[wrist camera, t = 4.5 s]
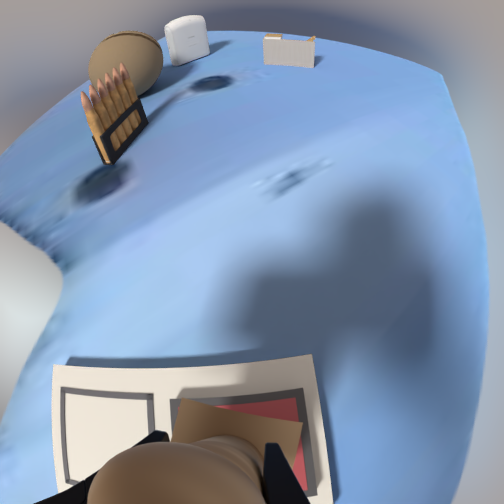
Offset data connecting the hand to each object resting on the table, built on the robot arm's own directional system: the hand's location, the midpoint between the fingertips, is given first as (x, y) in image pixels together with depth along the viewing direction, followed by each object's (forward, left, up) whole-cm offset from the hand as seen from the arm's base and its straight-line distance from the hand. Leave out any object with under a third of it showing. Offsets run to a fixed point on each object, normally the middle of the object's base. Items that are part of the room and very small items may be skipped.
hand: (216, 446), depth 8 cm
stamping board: (-5, +4, -12) cm, 14 cm away
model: (+59, +27, -13) cm, 66 cm away
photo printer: (+54, +51, -13) cm, 75 cm away
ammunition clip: (+21, +35, -13) cm, 42 cm away
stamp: (-1, -1, -6) cm, 6 cm away
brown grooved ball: (+34, +49, -13) cm, 61 cm away
